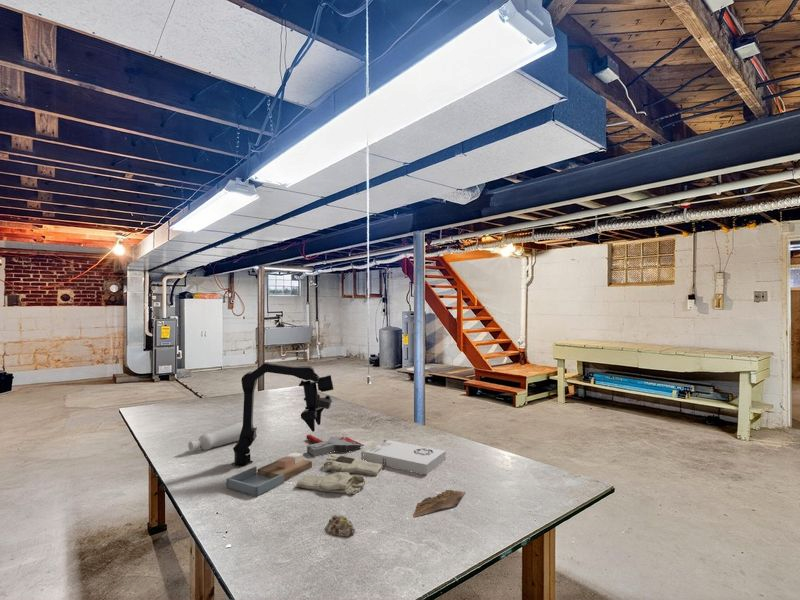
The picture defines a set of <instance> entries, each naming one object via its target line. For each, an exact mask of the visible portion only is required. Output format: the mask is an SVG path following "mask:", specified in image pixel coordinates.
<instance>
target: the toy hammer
mask: <svg viewBox="0 0 800 600" xmlns="http://www.w3.org/2000/svg"><path fill="white" fill-rule="evenodd" d="M306 440H307V441H310V442H312V444H308V445H306V454H308V453H309V454H308V455H310V456H311V457H313V456H314V457H313V458H316V456H317V457H320V456H319V455H321V456H324V455H323V454H325V455H328V454H327V453H329V454H331V453H330V452H333V453H347V452H348V453H350V452H349V451H352V452H354V451H356V450H358V449H360V448H361V447H364V444H363V443H360V442H358V441H355V440H354V439H351V438H350V437H347V436H337V435H335V436H330V437H329V439H328V440H326V441H324V440H322V439H319V438H318V437H316V436H314V435H312V434H307V435H306ZM353 450H354V451H353ZM334 451H335V452H334Z"/></svg>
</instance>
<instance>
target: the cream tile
mask: <svg viewBox="0 0 800 600" xmlns="http://www.w3.org/2000/svg"><path fill="white" fill-rule="evenodd" d="M285 456H286V457H291V458H294V464H296V463H298V462H300V461H302V460H303V459H304V454H303V453H299V452H295V451H294V452H292V453H289V454H287V455H285Z"/></svg>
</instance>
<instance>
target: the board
mask: <svg viewBox="0 0 800 600" xmlns="http://www.w3.org/2000/svg"><path fill="white" fill-rule="evenodd" d="M311 468H313V462H312V460H308V459H307V460H306V459H304V458H303V460H302V461H300V462H298V463H296V464H293V465H291V466H289V467H287V468H282V467H278V466H277V460H275V461H273V462H270V463H268V464H266V465H264V466H262V467H259V468H257V475H261V476H265V477H269V478H274V477H276V476H278V475H281V474H284V482H286V481H288V480H290V479H292V478H293V477H296V476H298V475H299V474H301V473H303V472H306V471H307V470H309V469H311Z"/></svg>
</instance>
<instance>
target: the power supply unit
mask: <svg viewBox="0 0 800 600" xmlns="http://www.w3.org/2000/svg"><path fill="white" fill-rule="evenodd" d="M446 454H447V453H446V450H445V449H437V448H433V447H427V446H421V445H416V444H411V443H405V442H400V441H395V440H389V439H384V440H383V442H382V443H380V444H378V445H376V446H373V447H372V448H370V449H368V450H366V451H364V450H362V451H360V460H363V459H364V461H365V460H366V461H367V462H372V463H378V464H382V465H383V464H384V465H383V467H387V466H389V467H388V468H392V467H393V468H392V469H396V468H398V469H397V470H400V469H402V470H401V471H405V470H407V471H406V472H409V471H412V472H411V473H414V472H417V473H416V474H418V473H422V474H428V473H429V472H431V471H432V470H433V469H434V470H436V469H437V468H438V467H439V466H438V465H439V464H441V463H442V462H443V461H445V460H447V459H446V458H447V457H446V456H447V455H446ZM445 462H446V461H445ZM443 463H444V462H443ZM443 463H442V464H443ZM442 464H441V465H442ZM385 465H386V466H385ZM437 466H438V467H437ZM436 467H437V468H436ZM435 468H436V469H435ZM434 470H433V471H434ZM433 471H432V472H433ZM432 472H431V473H432ZM422 474H421V475H422ZM429 474H430V473H429ZM429 474H428V475H429Z"/></svg>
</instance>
